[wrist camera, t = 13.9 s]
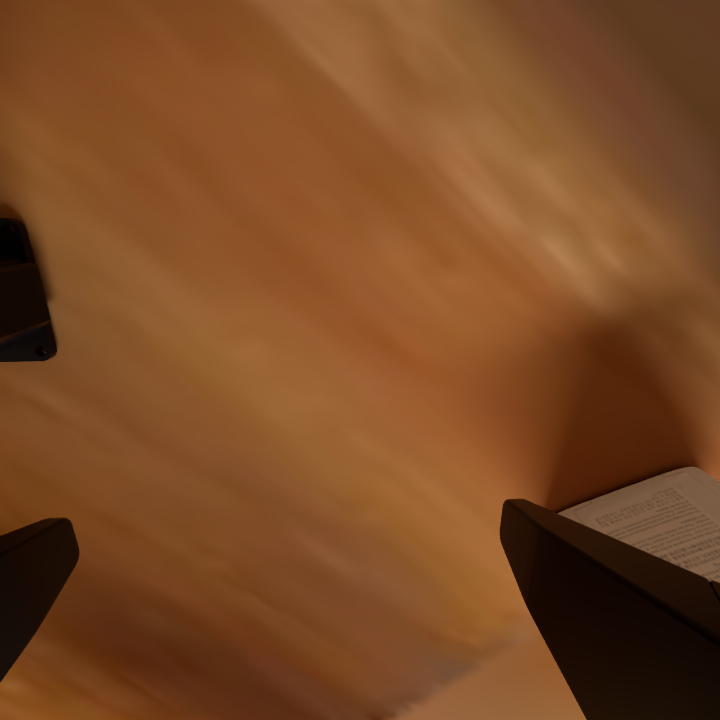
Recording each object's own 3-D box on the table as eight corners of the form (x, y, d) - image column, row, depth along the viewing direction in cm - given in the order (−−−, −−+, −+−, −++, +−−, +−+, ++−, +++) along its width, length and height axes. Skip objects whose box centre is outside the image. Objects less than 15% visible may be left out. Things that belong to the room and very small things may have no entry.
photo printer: (548, 564, 27) (714, 837, 15) (531, 515, 25) (697, 773, 14) (706, 506, 26) (1014, 747, 14) (697, 452, 24) (1029, 669, 13)
